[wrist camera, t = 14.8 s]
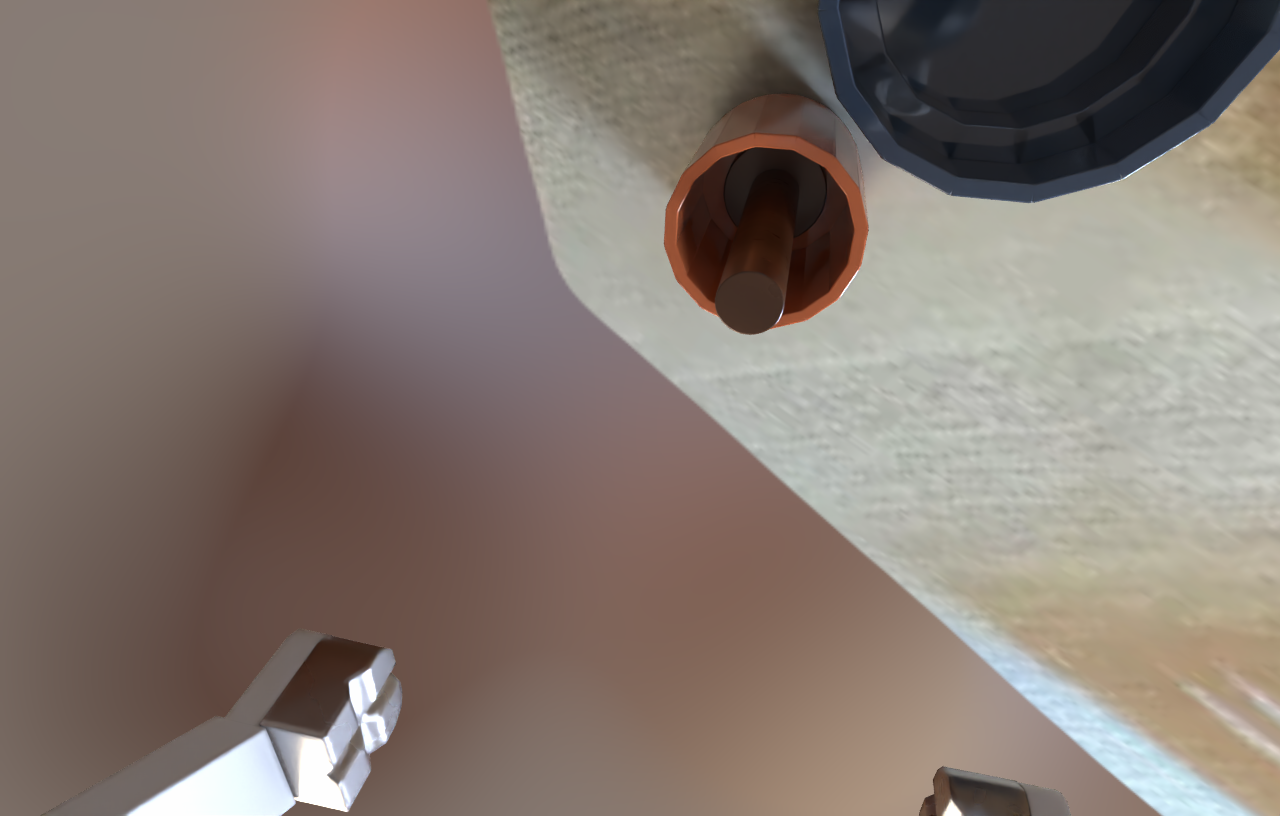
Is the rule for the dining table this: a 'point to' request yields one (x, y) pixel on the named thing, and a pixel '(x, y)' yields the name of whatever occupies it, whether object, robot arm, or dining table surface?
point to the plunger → (765, 232)
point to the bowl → (1039, 84)
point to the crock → (817, 255)
